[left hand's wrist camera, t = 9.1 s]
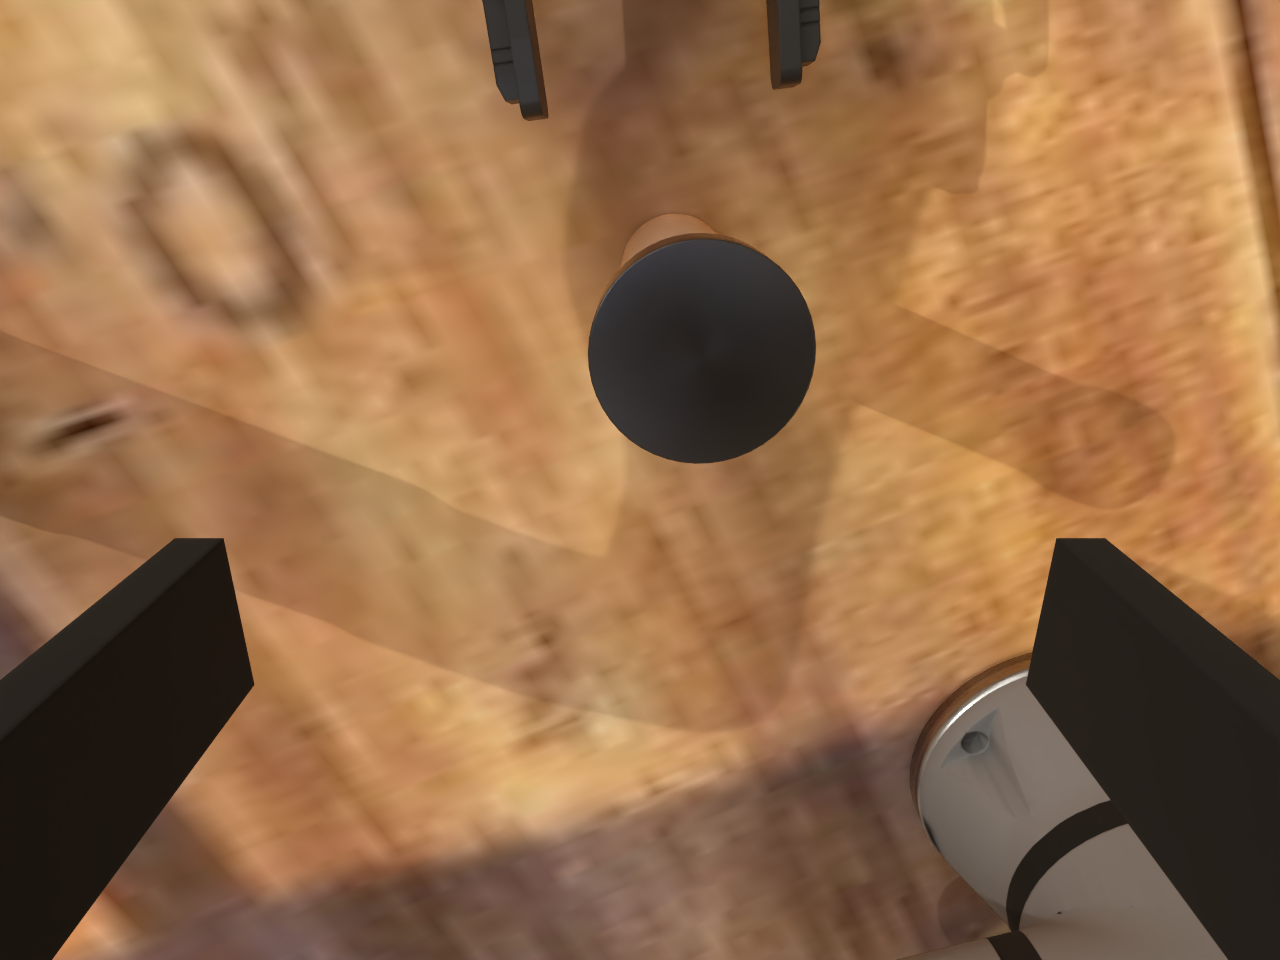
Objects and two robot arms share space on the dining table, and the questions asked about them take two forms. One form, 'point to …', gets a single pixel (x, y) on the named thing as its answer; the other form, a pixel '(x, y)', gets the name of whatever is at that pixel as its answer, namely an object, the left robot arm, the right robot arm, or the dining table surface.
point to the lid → (701, 348)
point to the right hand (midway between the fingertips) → (661, 102)
